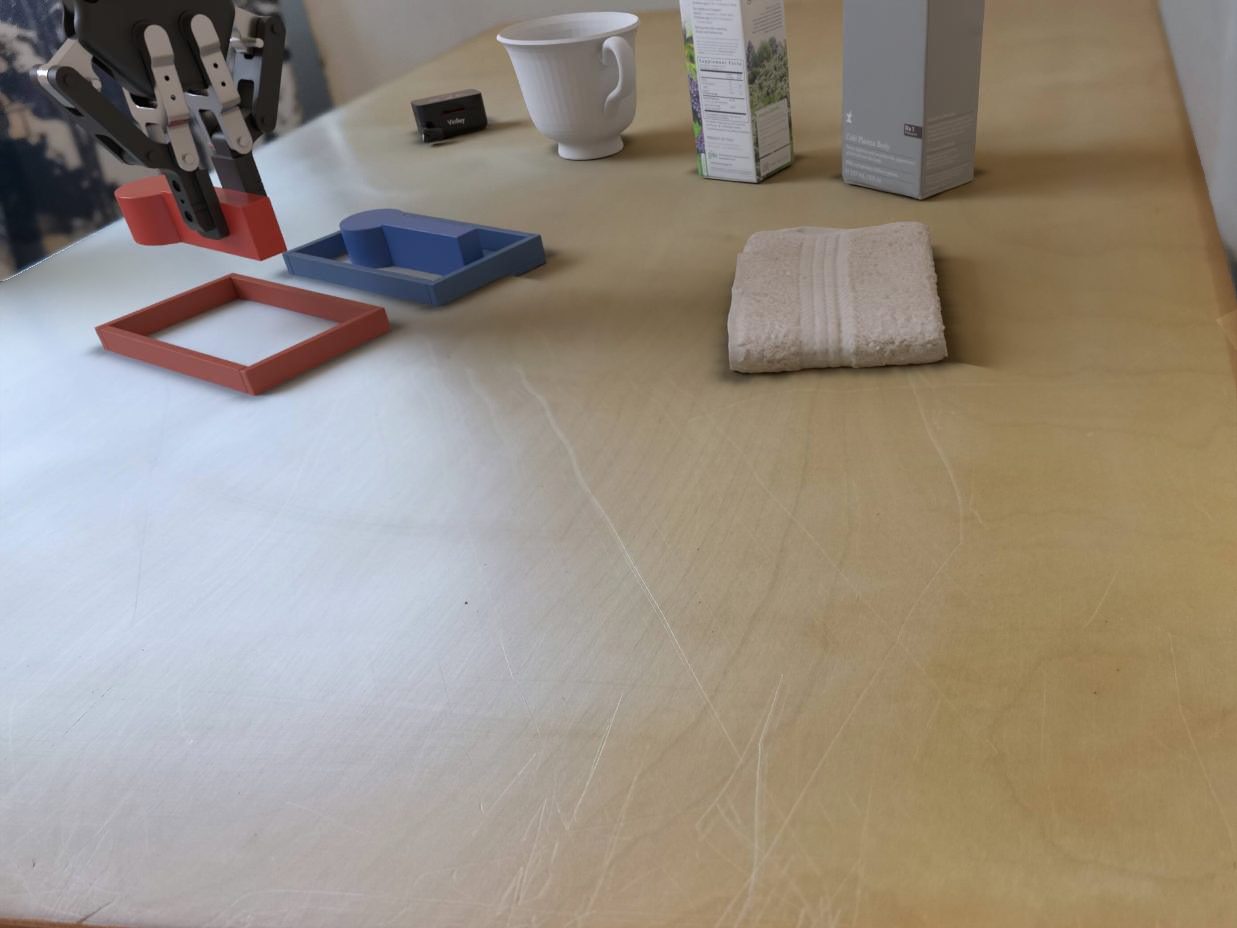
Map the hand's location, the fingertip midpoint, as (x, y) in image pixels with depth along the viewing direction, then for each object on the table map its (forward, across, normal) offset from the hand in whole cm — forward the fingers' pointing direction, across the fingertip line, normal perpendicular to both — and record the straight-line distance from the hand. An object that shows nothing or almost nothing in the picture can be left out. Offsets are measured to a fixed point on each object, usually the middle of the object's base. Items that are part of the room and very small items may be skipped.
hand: (233, 228), depth 63 cm
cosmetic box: (+8, -42, +20) cm, 48 cm away
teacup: (+8, -40, -10) cm, 42 cm away
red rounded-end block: (+1, 0, -3) cm, 3 cm away
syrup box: (+8, -40, +6) cm, 42 cm away
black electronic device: (+8, -40, -29) cm, 50 cm away
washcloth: (+8, -18, +28) cm, 34 cm away
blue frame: (+8, -14, -3) cm, 16 cm away
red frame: (+8, 0, -3) cm, 8 cm away
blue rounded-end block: (+7, -14, -3) cm, 16 cm away
